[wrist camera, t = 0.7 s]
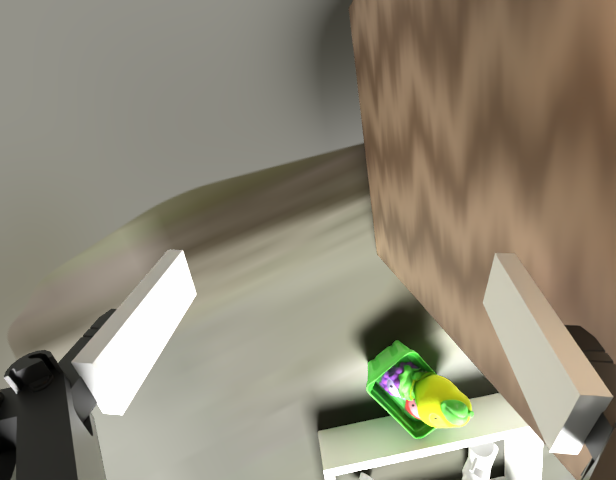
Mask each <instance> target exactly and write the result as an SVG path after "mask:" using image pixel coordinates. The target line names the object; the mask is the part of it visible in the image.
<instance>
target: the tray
mask: <svg viewBox="0 0 616 480" xmlns="http://www.w3.org/2000/svg"><path fill="white" fill-rule="evenodd" d="M469 400H470V402H471V405H472V411H473V412H474V415H473V417H470V419H469V421H468V422H467V424H465V425H464V426H460V427H450V428H436V429H434V430H433V431H432V432H431V433H429V434H428V435H427V436H425V437H424V438H421V439H415V438H413V437H412V436H411V435H410V434H409V432H407V431H406V430H405V429H404V428H403V427H402V426H401V425H400V424H399V423H398V422H397V421H396V420H395V419H394V418H393V417H392V416H387V417H383V418H378V419H373V420H368V421H364V422H359V423H354V424H349V425H345V426H340V427H335V428H330V429H326V430H321V431H318V437H319V444H320V451H321V458H322V465H323V471H324V476H325V480H336V479H335V476H336V475H341V474H346V473H350V472H355V471H359V470H364V469H369V468H373V467H378V466H382V465H387V464H392V463H396V462H401V461H405V460H410V459H415V458H419V457H424V456H429V455H433V454H438V453H442V452H447V451H452V450H456V449H461V448H465V447H470V446H475V445H479V444H484V443H488V442H493V441H498V440H502V439H505V469H504V476H502V477H497V478H493V479H489V480H542V457H543V441H542V440H541V439H540V438H539V437H538V436H537V435H536V433H535V432H534V431H533V430H532V429H531V428H530V427H529V426H528V424H527V423H526V422H525V421H524V420H523V419H522V418H521V417H520V415H519V414H518V413H517V412H516V411H515V410H514V409H513V407H512V406H511V405H510V404H509V403H508V402H507V401H506V400H505V398H504V397H503V396H502V395H501V394H500V393H496V394H491V395H487V396H482V397H477V398H472V399H469Z"/></svg>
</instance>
